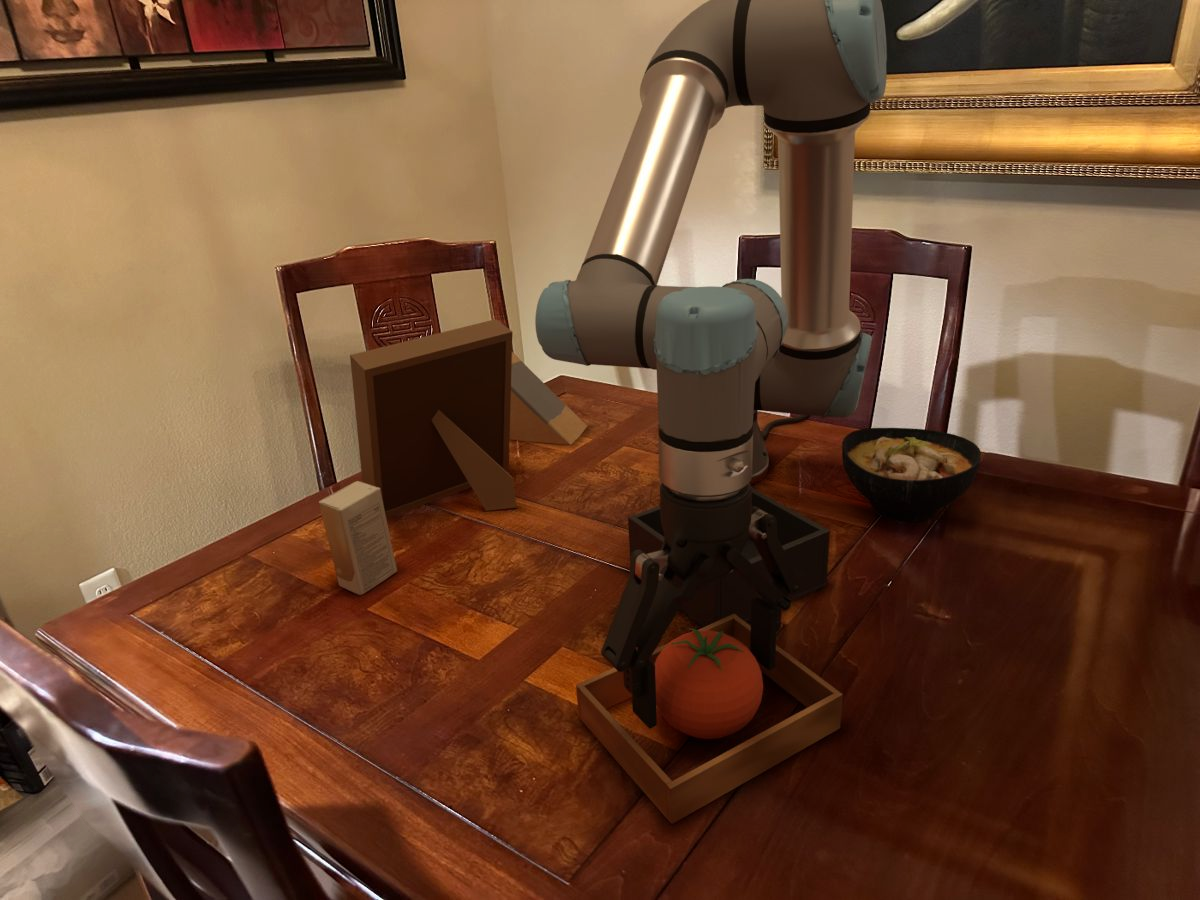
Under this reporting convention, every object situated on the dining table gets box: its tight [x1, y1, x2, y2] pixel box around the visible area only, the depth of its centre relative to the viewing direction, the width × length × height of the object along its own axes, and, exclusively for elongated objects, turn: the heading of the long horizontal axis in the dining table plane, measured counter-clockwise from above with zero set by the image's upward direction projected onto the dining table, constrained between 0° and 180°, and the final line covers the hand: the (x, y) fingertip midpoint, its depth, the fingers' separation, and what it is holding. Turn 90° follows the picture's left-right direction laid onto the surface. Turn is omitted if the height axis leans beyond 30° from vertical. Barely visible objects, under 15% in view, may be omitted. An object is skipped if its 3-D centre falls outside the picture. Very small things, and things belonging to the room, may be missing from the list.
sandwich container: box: [510, 351, 588, 446], centre depth 142 cm, size 9×15×15 cm, turn 71°
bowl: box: [841, 427, 982, 523], centre depth 112 cm, size 17×17×10 cm
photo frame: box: [349, 318, 517, 519], centre depth 117 cm, size 15×22×25 cm
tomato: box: [654, 628, 764, 740], centre depth 77 cm, size 10×10×10 cm
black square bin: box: [627, 487, 831, 628], centre depth 100 cm, size 17×17×8 cm
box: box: [575, 614, 844, 825], centre depth 78 cm, size 19×15×4 cm
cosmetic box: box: [318, 480, 398, 596], centre depth 103 cm, size 6×4×12 cm
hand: (705, 689), depth 77 cm, fingers open, 13 cm apart
